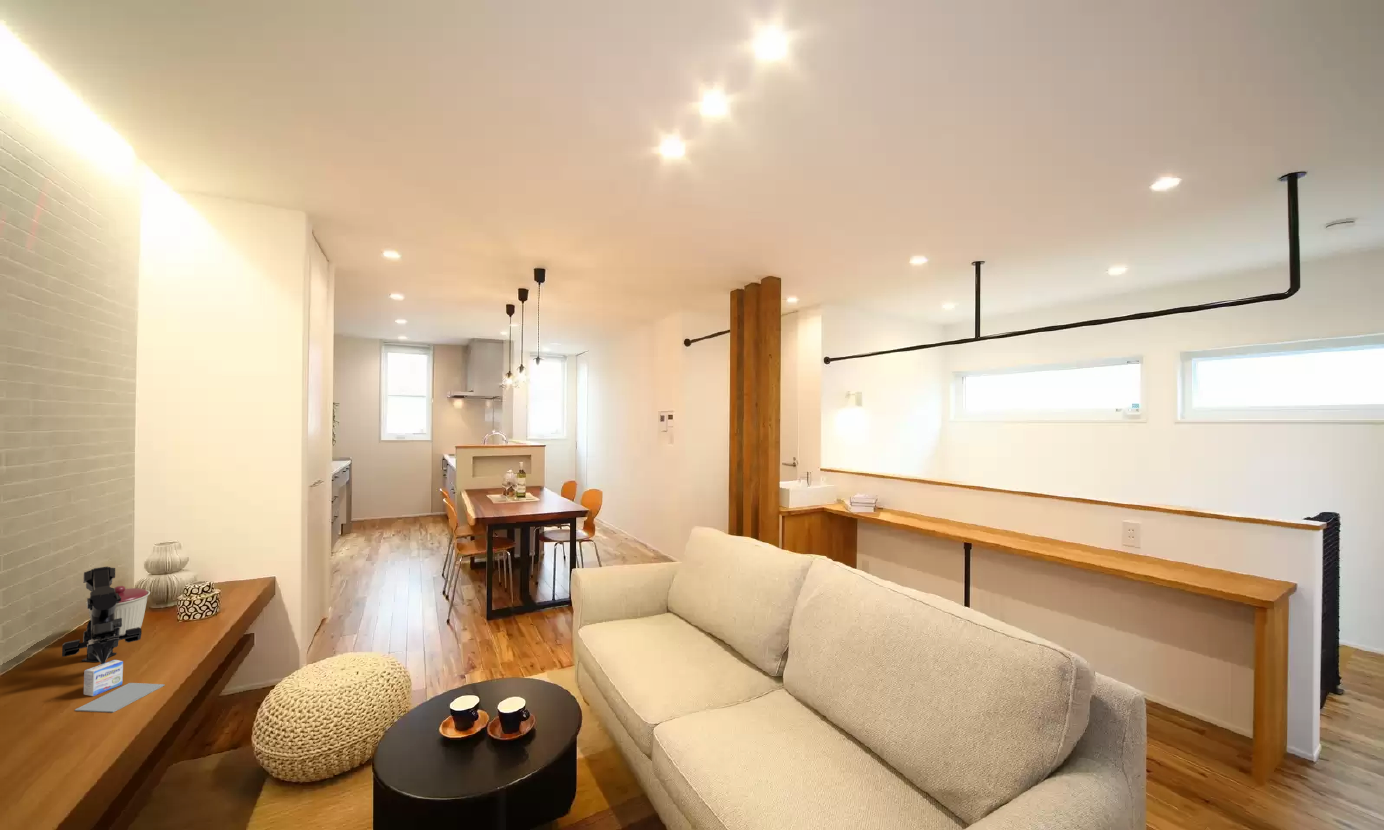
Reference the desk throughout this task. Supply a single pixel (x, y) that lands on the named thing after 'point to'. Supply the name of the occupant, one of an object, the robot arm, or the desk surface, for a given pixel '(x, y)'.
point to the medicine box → (103, 677)
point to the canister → (130, 607)
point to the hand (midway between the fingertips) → (103, 663)
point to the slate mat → (120, 697)
